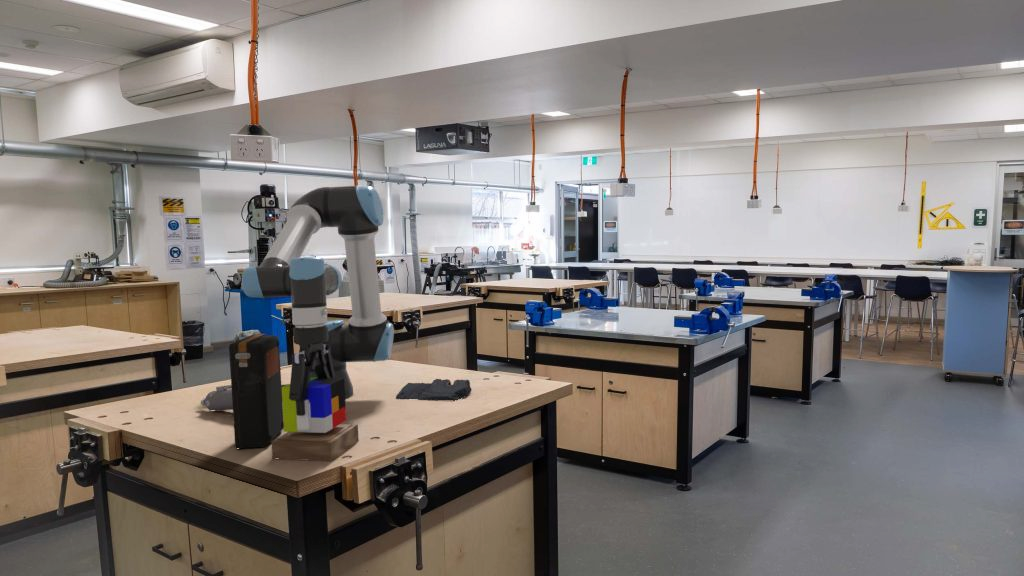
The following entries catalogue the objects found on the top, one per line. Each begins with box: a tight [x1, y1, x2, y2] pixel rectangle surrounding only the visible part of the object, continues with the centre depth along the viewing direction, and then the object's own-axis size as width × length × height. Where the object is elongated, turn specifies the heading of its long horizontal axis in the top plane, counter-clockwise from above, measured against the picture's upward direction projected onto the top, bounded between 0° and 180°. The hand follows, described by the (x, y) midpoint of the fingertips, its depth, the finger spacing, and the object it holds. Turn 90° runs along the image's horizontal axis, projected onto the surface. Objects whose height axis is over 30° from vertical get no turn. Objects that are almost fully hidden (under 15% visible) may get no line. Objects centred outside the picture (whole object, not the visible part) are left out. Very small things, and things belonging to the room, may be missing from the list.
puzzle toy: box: [282, 378, 347, 433], centre depth 144 cm, size 10×10×10 cm
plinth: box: [270, 423, 360, 462], centre depth 145 cm, size 14×14×4 cm
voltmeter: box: [228, 333, 284, 449], centre depth 153 cm, size 16×9×25 cm, turn 5°
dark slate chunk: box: [395, 378, 472, 402], centre depth 196 cm, size 15×22×5 cm
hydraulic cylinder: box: [200, 383, 289, 411], centre depth 178 cm, size 7×37×10 cm, turn 63°
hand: (315, 422), depth 145 cm, fingers closed on puzzle toy, 10 cm apart
